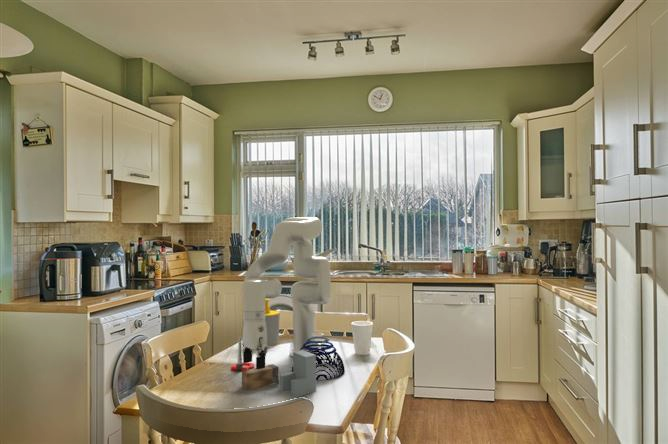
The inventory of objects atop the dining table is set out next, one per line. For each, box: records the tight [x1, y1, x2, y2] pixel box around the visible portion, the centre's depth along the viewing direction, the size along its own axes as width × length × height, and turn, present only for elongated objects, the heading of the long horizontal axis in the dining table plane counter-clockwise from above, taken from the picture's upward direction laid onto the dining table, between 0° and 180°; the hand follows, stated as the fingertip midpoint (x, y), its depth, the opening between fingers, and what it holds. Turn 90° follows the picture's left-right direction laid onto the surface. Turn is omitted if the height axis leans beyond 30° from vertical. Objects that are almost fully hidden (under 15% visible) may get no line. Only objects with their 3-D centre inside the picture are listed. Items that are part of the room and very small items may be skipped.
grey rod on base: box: [230, 336, 255, 372], centre depth 178 cm, size 8×13×9 cm
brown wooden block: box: [241, 363, 280, 391], centre depth 158 cm, size 12×4×6 cm, turn 127°
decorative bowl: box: [291, 332, 346, 382], centre depth 171 cm, size 20×20×14 cm
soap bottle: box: [265, 299, 281, 348], centre depth 214 cm, size 13×13×21 cm
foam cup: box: [350, 320, 374, 356], centre depth 196 cm, size 10×9×13 cm
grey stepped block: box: [279, 350, 317, 399], centre depth 152 cm, size 10×9×12 cm
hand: (254, 365), depth 156 cm, fingers open, 9 cm apart
